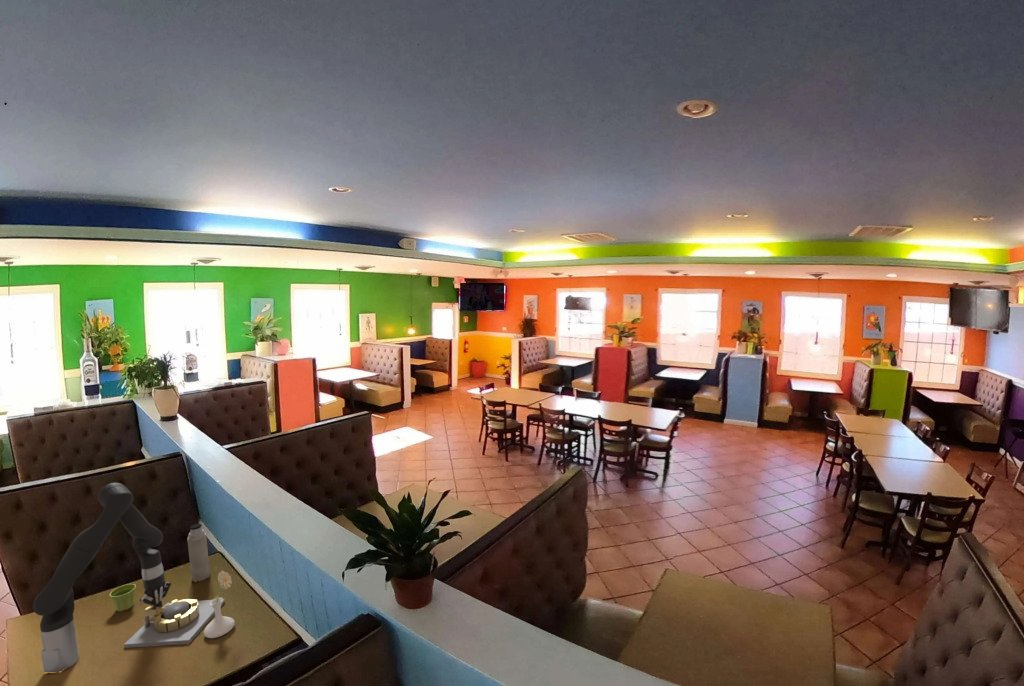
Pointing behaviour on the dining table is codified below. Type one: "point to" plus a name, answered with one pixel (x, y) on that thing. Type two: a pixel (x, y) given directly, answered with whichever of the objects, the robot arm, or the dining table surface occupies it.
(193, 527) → the thermos bottle
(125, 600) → the plant pot
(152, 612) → the segmented wooden ring
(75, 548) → the robot arm
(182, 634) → the boss plate
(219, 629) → the flower in vase
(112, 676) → the dining table surface
